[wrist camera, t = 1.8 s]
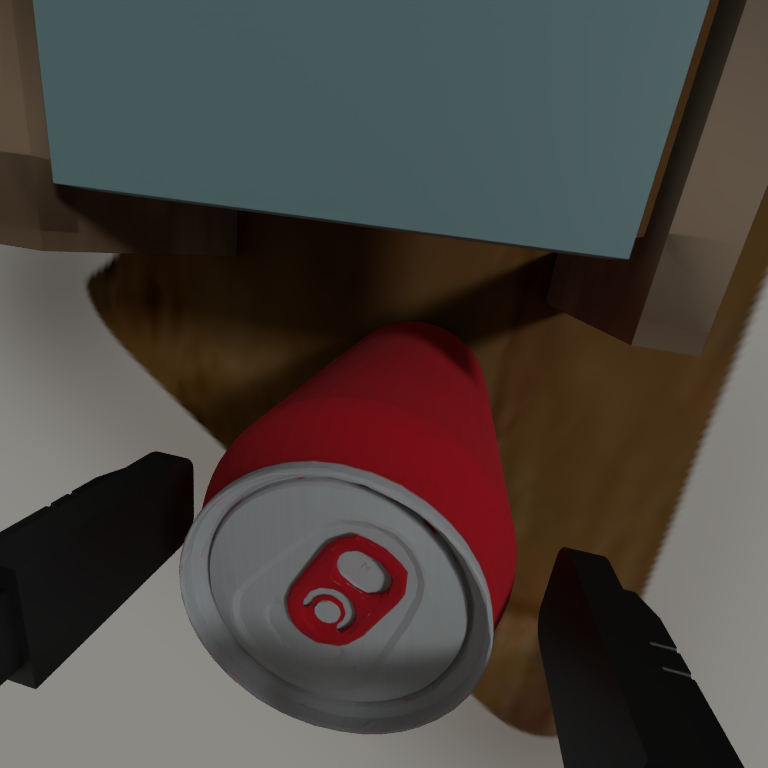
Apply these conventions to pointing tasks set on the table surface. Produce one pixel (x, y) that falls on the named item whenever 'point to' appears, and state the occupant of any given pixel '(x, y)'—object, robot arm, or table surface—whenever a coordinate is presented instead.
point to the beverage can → (359, 539)
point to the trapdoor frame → (571, 272)
